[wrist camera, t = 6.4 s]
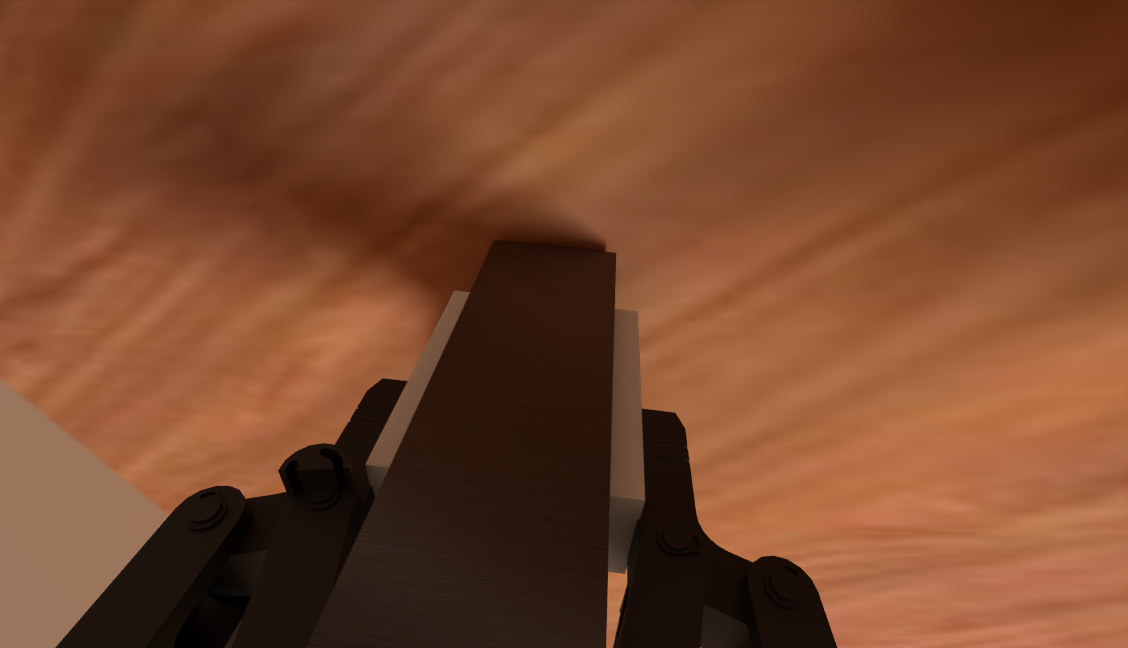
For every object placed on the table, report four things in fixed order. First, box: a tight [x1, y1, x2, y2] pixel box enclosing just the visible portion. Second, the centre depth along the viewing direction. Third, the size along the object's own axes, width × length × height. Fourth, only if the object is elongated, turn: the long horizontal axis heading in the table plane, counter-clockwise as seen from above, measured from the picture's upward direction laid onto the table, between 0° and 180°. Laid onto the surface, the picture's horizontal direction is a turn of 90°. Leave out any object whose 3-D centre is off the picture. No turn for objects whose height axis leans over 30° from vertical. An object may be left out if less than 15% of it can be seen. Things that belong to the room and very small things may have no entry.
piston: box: [306, 240, 616, 648], centre depth 18 cm, size 23×7×13 cm, turn 176°
